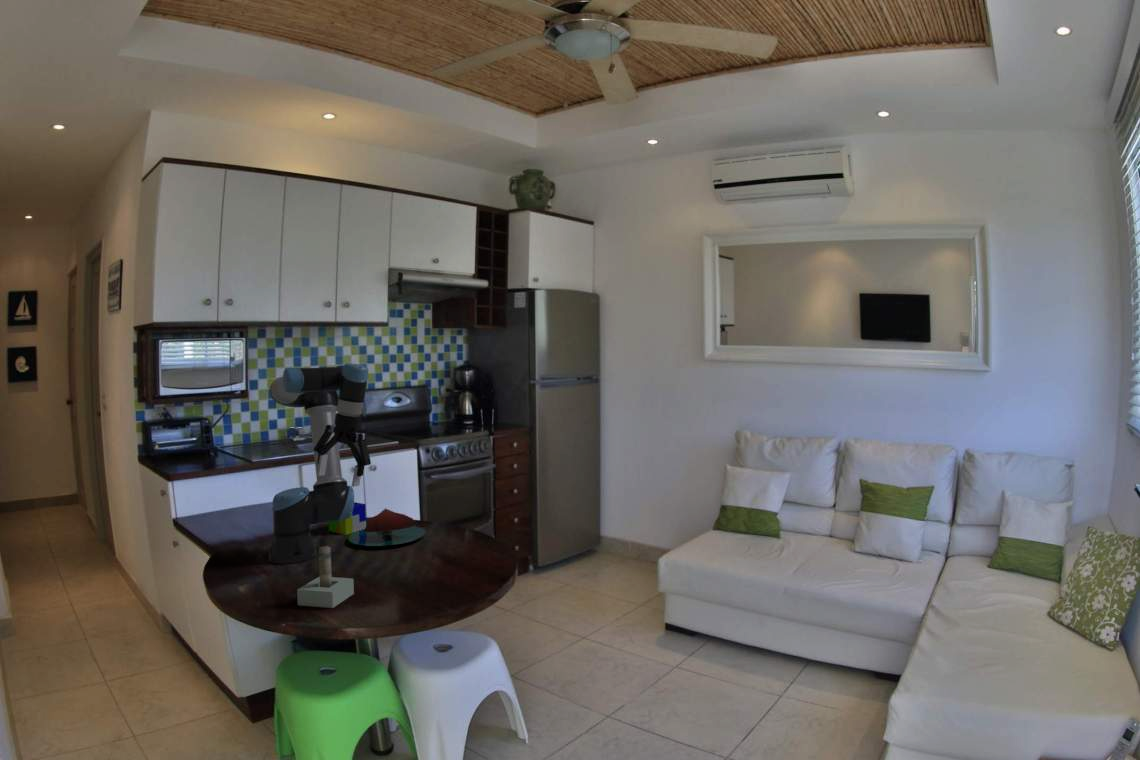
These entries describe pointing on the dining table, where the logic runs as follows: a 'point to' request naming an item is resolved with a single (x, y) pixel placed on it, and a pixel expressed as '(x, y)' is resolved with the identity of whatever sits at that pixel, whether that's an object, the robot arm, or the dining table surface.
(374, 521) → the red and teal hat
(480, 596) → the dining table surface
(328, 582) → the tan cylinder
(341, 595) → the grey square-hole block
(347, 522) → the puzzle toy
